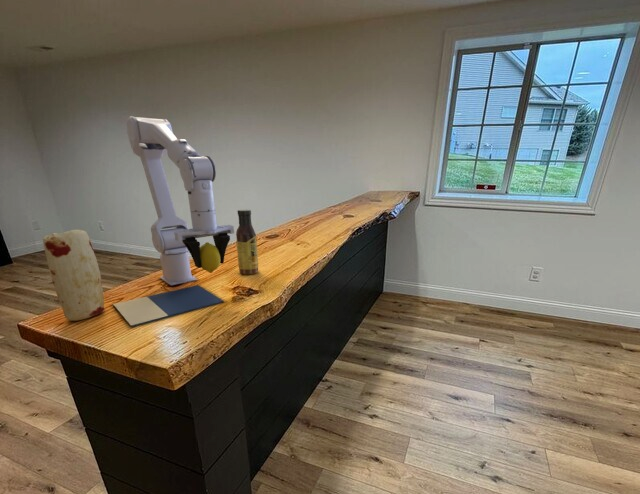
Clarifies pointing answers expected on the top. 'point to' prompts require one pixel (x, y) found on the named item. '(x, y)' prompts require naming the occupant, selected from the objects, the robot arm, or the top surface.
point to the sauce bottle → (246, 244)
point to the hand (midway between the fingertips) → (209, 264)
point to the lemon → (209, 257)
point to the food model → (75, 274)
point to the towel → (165, 305)
